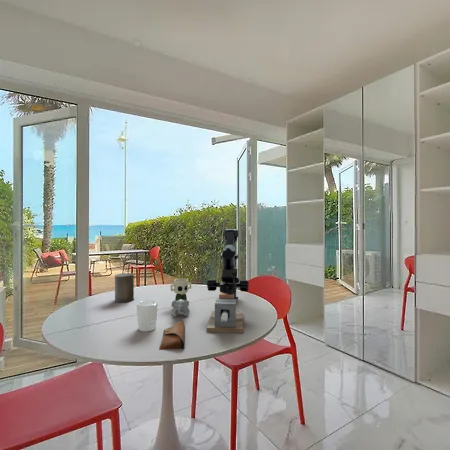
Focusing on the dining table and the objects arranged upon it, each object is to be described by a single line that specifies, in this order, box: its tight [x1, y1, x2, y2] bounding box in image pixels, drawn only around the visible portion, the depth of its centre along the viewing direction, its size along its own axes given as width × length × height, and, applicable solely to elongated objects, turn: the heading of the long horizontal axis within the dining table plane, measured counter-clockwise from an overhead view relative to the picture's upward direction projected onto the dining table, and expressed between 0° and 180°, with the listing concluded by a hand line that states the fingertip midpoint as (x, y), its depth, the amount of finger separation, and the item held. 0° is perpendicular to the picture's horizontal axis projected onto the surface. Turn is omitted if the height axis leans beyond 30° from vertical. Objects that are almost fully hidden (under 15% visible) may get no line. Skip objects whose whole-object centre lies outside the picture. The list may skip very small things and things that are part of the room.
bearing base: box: [205, 298, 244, 334], centre depth 117 cm, size 21×14×10 cm, turn 176°
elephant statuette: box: [171, 299, 190, 318], centre depth 124 cm, size 9×12×8 cm
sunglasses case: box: [159, 320, 186, 351], centre depth 100 cm, size 18×7×7 cm
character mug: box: [170, 278, 192, 301], centre depth 140 cm, size 11×7×13 cm, turn 119°
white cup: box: [136, 299, 158, 333], centre depth 110 cm, size 8×8×10 cm
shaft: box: [218, 292, 234, 323], centre depth 110 cm, size 17×6×10 cm, turn 176°
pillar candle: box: [114, 272, 135, 303], centre depth 150 cm, size 10×10×15 cm
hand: (227, 302), depth 122 cm, fingers closed
